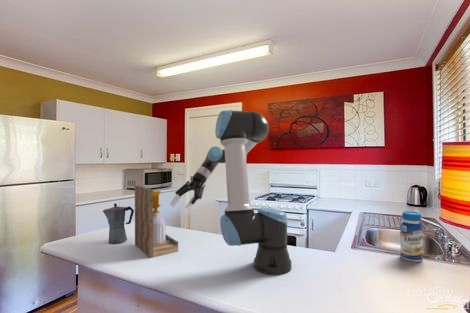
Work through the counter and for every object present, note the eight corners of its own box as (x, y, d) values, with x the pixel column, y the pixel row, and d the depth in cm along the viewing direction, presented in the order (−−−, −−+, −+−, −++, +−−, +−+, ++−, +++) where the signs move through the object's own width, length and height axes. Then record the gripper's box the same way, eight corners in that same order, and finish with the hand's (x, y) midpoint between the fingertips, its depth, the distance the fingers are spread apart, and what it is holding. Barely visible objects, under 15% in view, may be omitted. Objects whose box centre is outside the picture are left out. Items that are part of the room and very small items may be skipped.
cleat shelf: (178, 251, 126) (178, 187, 125) (149, 258, 118) (149, 190, 117) (160, 239, 143) (160, 183, 143) (134, 244, 135) (134, 185, 135)
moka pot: (104, 239, 143) (103, 202, 143) (134, 237, 148) (134, 201, 148) (100, 245, 134) (100, 205, 134) (133, 242, 139) (133, 204, 138)
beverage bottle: (418, 255, 119) (418, 211, 119) (426, 263, 111) (426, 215, 111) (397, 254, 122) (397, 210, 121) (403, 261, 113) (403, 214, 113)
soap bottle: (167, 238, 135) (166, 190, 135) (163, 244, 126) (162, 192, 126) (149, 238, 135) (149, 190, 135) (143, 244, 126) (143, 192, 126)
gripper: (220, 181, 144) (198, 214, 133) (191, 179, 161) (170, 208, 150) (212, 172, 140) (190, 205, 129) (183, 171, 157) (161, 200, 146)
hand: (179, 206), depth 139 cm, fingers open, 13 cm apart
